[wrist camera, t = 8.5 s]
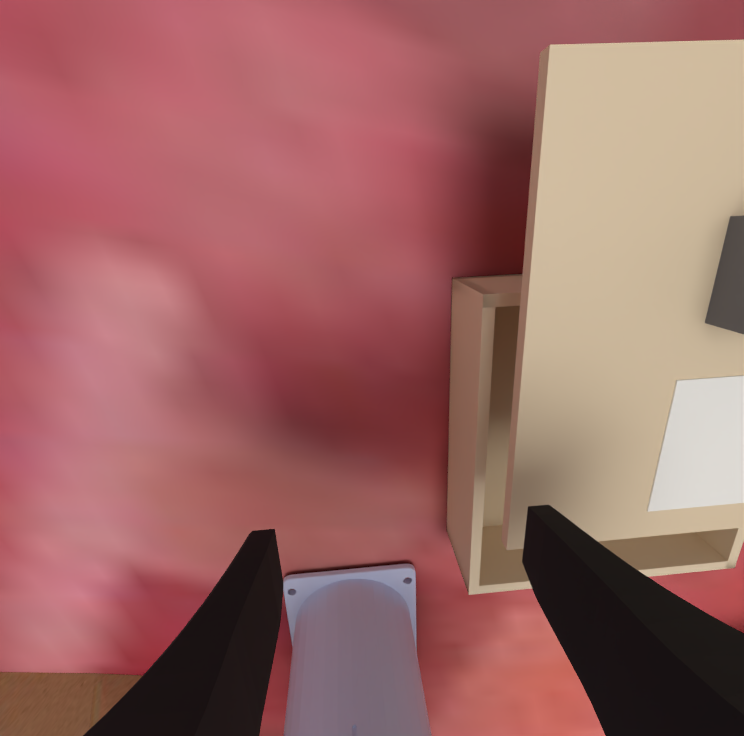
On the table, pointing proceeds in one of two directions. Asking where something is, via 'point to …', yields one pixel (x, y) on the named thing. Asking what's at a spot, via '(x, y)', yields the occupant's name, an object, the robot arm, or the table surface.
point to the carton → (491, 445)
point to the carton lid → (632, 293)
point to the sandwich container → (57, 701)
